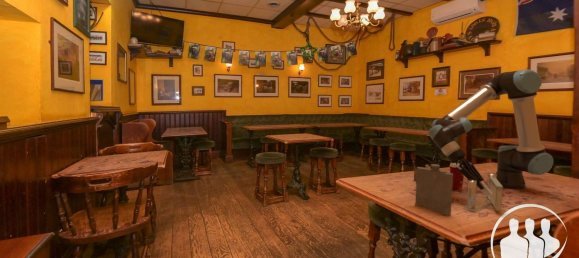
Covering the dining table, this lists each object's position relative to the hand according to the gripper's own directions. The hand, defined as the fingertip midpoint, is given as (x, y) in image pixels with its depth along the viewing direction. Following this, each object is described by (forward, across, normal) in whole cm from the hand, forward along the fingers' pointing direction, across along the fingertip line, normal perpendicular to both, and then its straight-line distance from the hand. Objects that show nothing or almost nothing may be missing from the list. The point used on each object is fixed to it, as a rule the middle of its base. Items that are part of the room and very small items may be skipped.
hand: (489, 195), depth 132 cm
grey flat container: (-25, -20, -35) cm, 47 cm away
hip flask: (-5, +24, -14) cm, 28 cm away
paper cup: (-11, -17, -20) cm, 29 cm away
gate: (+4, -2, -2) cm, 5 cm away
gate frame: (+2, -1, -6) cm, 7 cm away
